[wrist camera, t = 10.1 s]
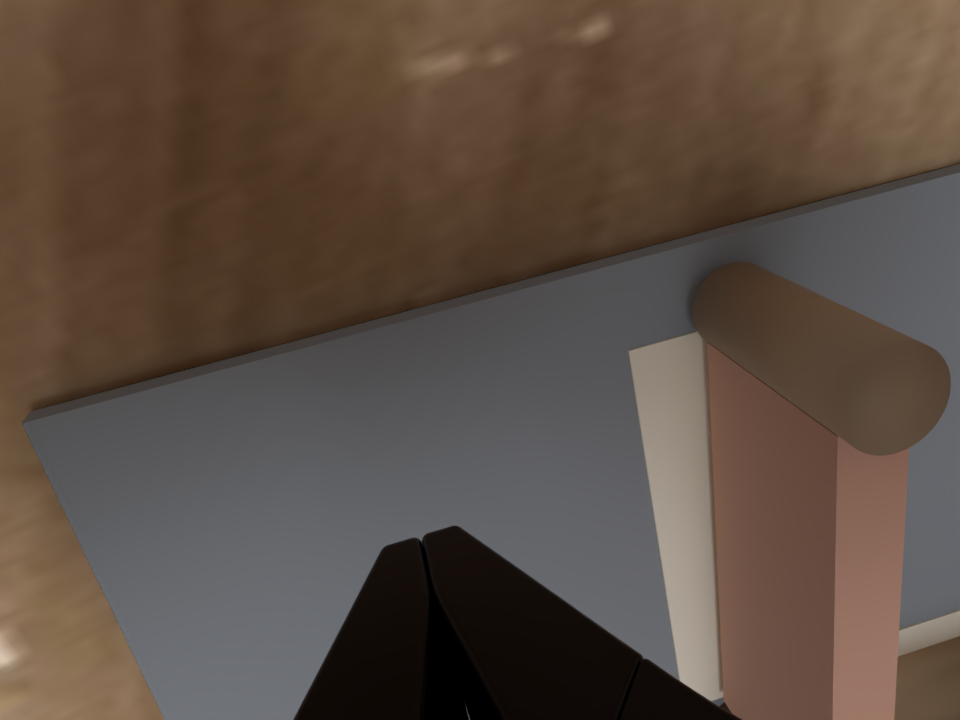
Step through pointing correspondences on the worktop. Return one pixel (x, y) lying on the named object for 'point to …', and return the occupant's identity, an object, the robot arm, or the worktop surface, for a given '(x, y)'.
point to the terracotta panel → (810, 492)
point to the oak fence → (927, 683)
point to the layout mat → (484, 456)
